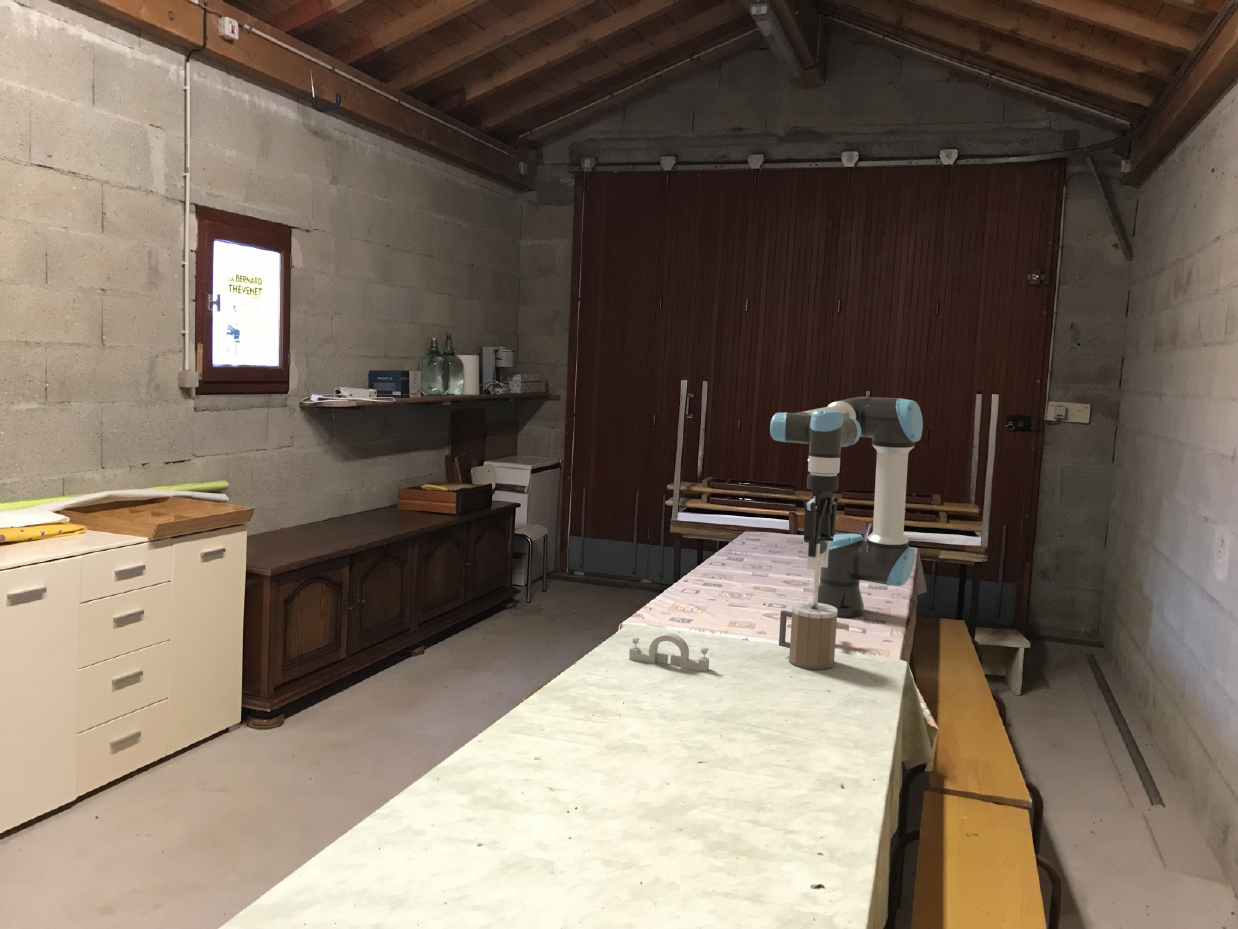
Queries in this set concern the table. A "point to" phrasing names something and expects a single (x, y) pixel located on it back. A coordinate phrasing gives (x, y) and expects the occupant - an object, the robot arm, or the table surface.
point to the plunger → (816, 575)
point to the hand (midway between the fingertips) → (817, 567)
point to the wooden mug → (810, 635)
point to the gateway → (663, 658)
